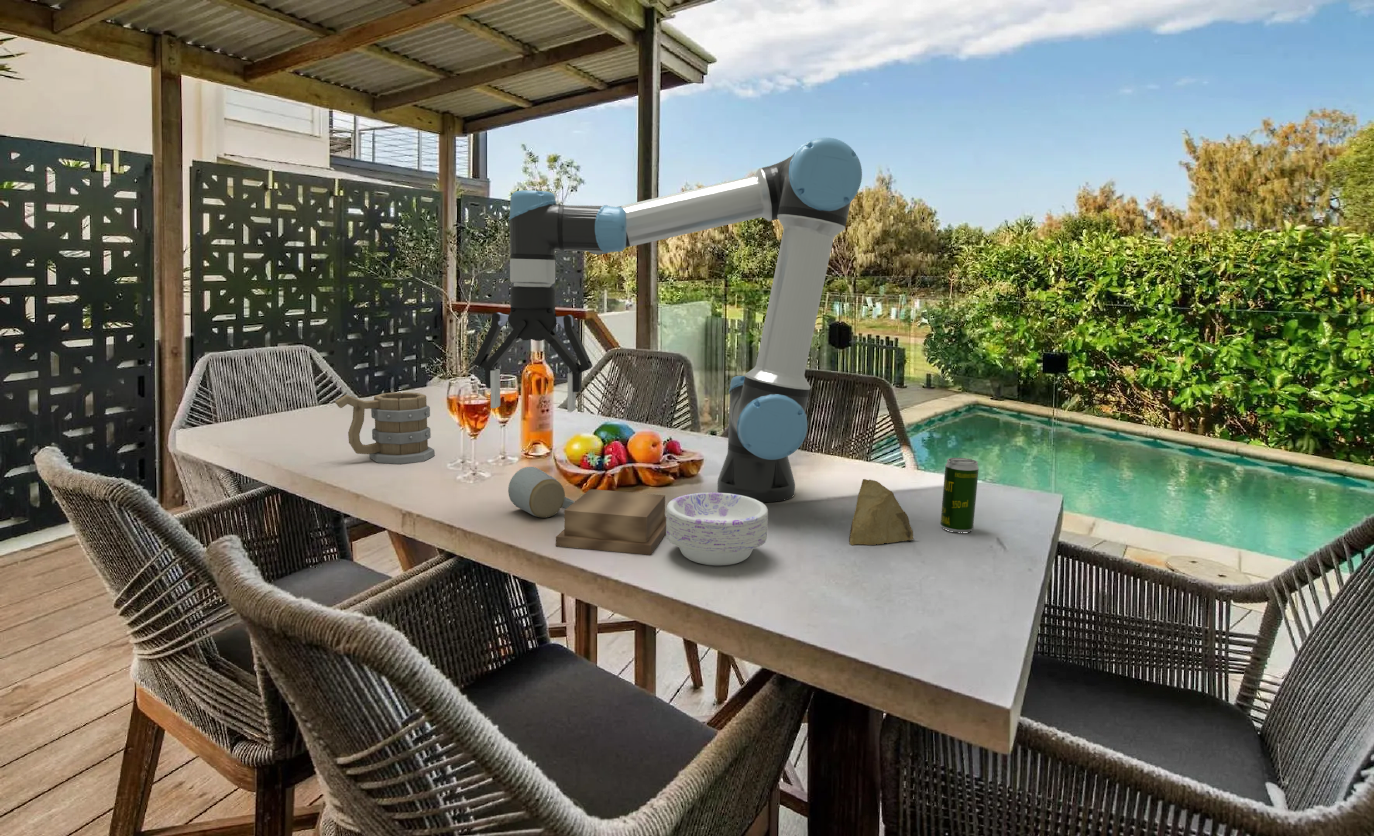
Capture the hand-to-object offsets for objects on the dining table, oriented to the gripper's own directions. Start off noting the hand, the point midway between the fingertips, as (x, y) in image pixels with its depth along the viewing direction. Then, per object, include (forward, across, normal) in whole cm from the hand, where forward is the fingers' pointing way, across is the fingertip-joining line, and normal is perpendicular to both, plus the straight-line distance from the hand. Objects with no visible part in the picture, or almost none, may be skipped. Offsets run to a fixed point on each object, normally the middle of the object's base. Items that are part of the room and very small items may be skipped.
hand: (533, 409), depth 140 cm
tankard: (+18, +42, -30) cm, 55 cm away
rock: (+18, -60, +6) cm, 63 cm away
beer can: (+18, -74, -2) cm, 76 cm away
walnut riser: (+18, -17, +12) cm, 28 cm away
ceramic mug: (+18, -2, +2) cm, 18 cm away
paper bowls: (+18, -34, +18) cm, 43 cm away
